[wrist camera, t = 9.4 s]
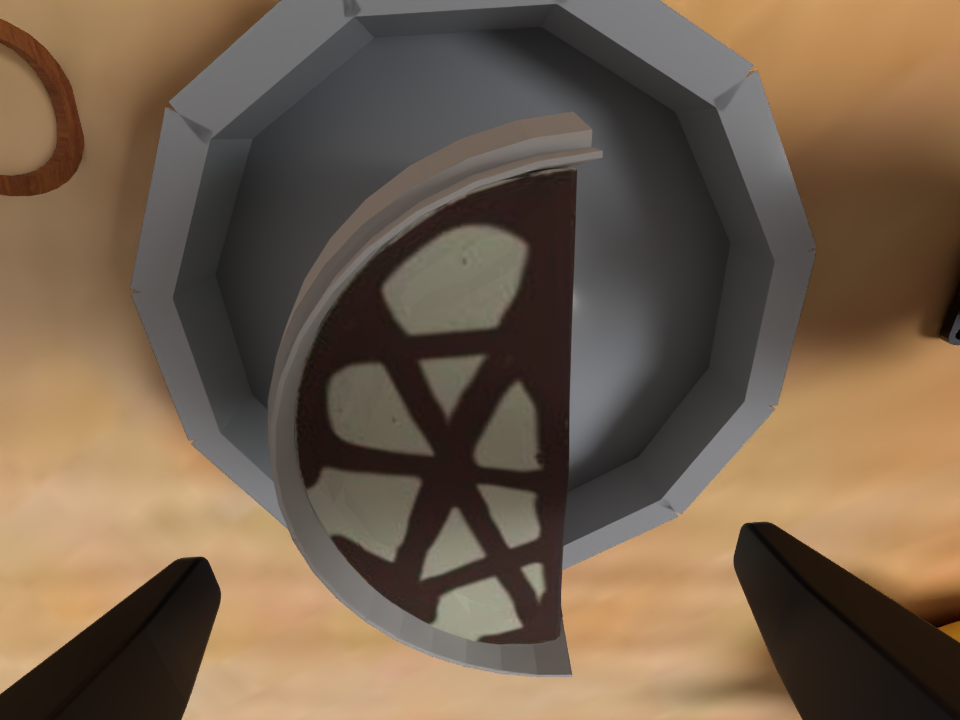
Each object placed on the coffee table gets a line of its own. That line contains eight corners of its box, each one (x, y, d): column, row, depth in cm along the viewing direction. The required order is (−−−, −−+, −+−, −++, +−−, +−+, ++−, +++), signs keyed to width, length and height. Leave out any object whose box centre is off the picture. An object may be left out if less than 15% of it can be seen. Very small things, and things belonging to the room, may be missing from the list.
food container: (329, 133, 15) (116, 130, 6) (523, 123, 15) (606, 103, 6) (383, 450, 20) (314, 704, 11) (525, 443, 20) (571, 691, 11)
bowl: (803, -33, 14) (901, -82, 11) (700, 503, 23) (737, 562, 20) (109, 11, 14) (6, -25, 11) (277, 528, 23) (247, 590, 20)
